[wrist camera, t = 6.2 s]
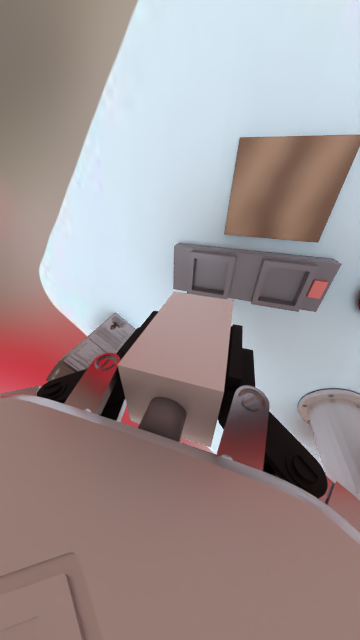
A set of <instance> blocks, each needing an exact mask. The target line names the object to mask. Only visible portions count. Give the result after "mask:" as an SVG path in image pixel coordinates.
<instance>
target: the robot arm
mask: <svg viewBox="0 0 360 640" xmlns="http://www.w3.org/2000/svg"><path fill="white" fill-rule="evenodd" d="M157 313H158V311H153V312H152V313H151V315H150V316H149V317H148V318H147V319H146V321H145V322H144V323H143V324H142V325H141V327H140V328H137V329H136V330H135V331H134V333H133V334H132V335H131V336H130V337H129V339H128V340H127V341H126V342H125V343H124V345H123V346H122V347H121V348H120V349H119V351H118V352H117V353H116V354H115V353H104V354H101V355H99V356H98V357H96V358H95V359H94V360H93V361H92V363H91V364H90V366H89V367H88V368H87V369H84V370H81V371H78V372H75V373H72V374H69V375H66V376H63V377H60V378H57V379H54V380H51V381H49V382H47V383H46V384H44V385H43V386H42V387H40V386H35V387H30V388H26V389H20V390H16V391H11V392H6V393H1V394H0V640H360V394H357V393H355V392H351V391H347V390H340V389H327V390H320V391H316V392H313V393H310V394H308V395H306V396H305V397H303V398H302V399H301V400H300V402H299V404H298V410H299V414H300V416H301V417H302V419H303V420H304V421H306V422H307V423H309V424H311V427H312V430H313V433H314V436H315V440H316V443H317V446H318V450H319V453H320V456H321V460H322V463H323V466H324V470H325V472H324V470H323V469H322V467H321V465H320V464H319V463H318V461H317V460H316V459H315V458H314V457H313V456H312V455H311V454H310V453H309V452H308V451H307V450H306V449H305V448H304V447H303V446H302V445H301V443H300V442H299V441H298V440H297V439H296V438H295V437H294V436H293V435H292V434H291V433H290V432H289V431H288V430H287V429H286V428H285V427H284V426H283V425H282V424H281V423H280V422H279V421H278V420H277V419H276V418H275V417H274V416H273V415H272V414H271V413H270V412H269V401H268V399H267V397H266V396H265V394H264V393H263V392H262V391H260V390H259V389H257V388H255V375H254V358H253V350H249V349H244V348H242V326H240V325H234V324H233V326H231V329H230V339H229V348H228V358H227V368H226V377H225V387H224V394H223V398H222V402H221V406H220V410H219V414H218V420H219V423H220V425H221V426H222V428H223V429H224V431H223V434H222V438H221V441H220V444H219V448H218V451H217V455H216V454H213V453H209V452H206V451H204V450H201V449H198V448H195V447H192V446H189V445H186V444H183V443H180V442H177V441H175V440H172V439H169V438H166V437H163V436H160V435H157V434H154V433H151V432H148V431H145V430H142V429H139V428H136V427H133V426H130V425H127V424H124V423H121V422H120V421H121V418H122V415H123V413H124V410H125V407H126V405H127V403H126V399H125V395H124V390H123V386H122V382H121V378H120V374H119V370H118V366H117V365H118V363H119V362H120V361H121V359H122V358H123V357H124V356H125V354H126V353H127V352H128V350H129V349H130V348H131V347H132V345H133V344H134V343H135V341H136V340H137V339H138V338H139V336H140V335H141V334H142V332H143V331H144V330H145V329H146V327H147V326H148V325H149V323H150V322H151V321H152V320H153V318H154V317H155V316H156V314H157ZM325 473H326V475H325Z"/></svg>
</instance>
